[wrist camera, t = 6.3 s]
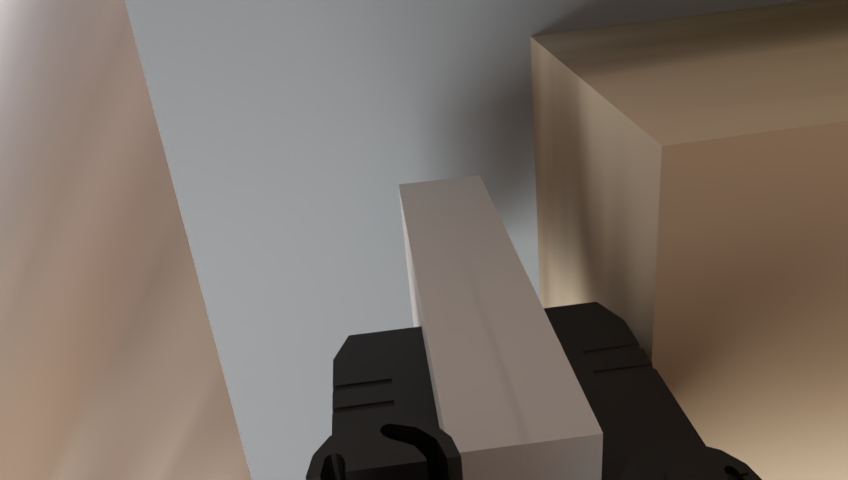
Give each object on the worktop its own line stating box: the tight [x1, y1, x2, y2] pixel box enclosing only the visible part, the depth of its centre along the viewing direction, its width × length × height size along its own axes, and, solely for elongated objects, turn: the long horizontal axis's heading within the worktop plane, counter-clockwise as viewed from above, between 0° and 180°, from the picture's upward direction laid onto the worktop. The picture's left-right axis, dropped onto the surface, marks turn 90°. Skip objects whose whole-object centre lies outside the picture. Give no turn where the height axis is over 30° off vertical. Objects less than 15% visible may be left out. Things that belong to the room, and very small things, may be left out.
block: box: [530, 0, 848, 480], centre depth 12 cm, size 6×6×6 cm
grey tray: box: [124, 0, 812, 480], centre depth 14 cm, size 14×21×6 cm, turn 95°
